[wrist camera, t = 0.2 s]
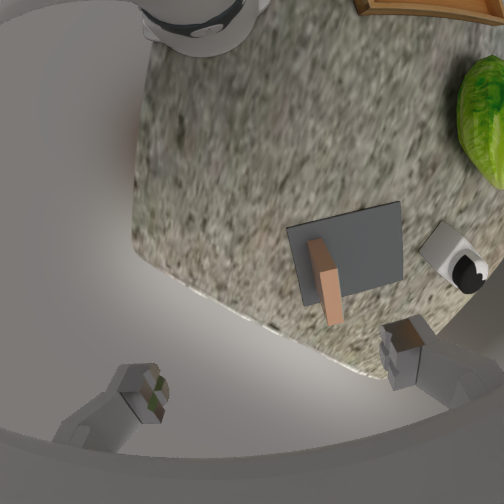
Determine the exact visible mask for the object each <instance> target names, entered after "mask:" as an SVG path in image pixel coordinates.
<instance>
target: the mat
mask: <svg viewBox="0 0 504 504" xmlns="http://www.w3.org/2000/svg"><path fill="white" fill-rule="evenodd" d="M287 232H288V236H289V241H290V245H291V249H292V254H293V258H294V262H295V267H296V271H297V276H298V280H299V285H300V289H301V294H302V299H303V303H304V306H309V305H313V304H317V303H320V300H319V297H318V294H317V291H316V286H315V280H314V275H313V270H312V264H311V259H310V254H309V249H308V244H307V241H311V240H315V239H319V238H322V240H323V241H324V243H325V245H326V247H327V249H328V251H329V253H330V255H331V257H332V259H333V261H334V263H335V265H336V267H337V269H338V275H339V282H340V290H341V297H344V296H347V295H351V294H355V293H359V292H362V291H366V290H369V289H373V288H377V287H380V286H383V285H387V284H390V283H394V282H397V281H401V280H403V242H402V220H401V205H400V201H397V202H392V203H388V204H384V205H380V206H375V207H371V208H367V209H362V210H358V211H354V212H350V213H346V214H341V215H337V216H333V217H329V218H325V219H321V220H316V221H312V222H308V223H304V224H300V225H296V226H292V227H288V228H287Z"/></svg>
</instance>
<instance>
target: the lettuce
mask: <svg viewBox="0 0 504 504" xmlns="http://www.w3.org/2000/svg"><path fill="white" fill-rule="evenodd" d="M457 129H458V138H459V142H460V144H461V146H462V148H463V149H464V151H465V153H466V155H467V156H468V157H469V159H470V160H471V161H472V163H473V164H474V165H475V166H476V167H477V169H478V170H479V171H480V173H481V174H482V175H483V176H484V177H485V178H486V180H487V181H488V182H489V183H490V184H491V185H492V186H493V187H495V188H496V189H498V190H504V60H502V59H500V58H498V57H496V56H494V55H490V56H488V57H486V58H483V59H481V60H478V61H477V62H476V63H475V64H474V65H473V67H472V68H471V69H470V70H469V72H468V73H467V74H466V75H465V77H464V80H463V82H462V85H461V87H460V90H459V92H458V100H457Z"/></svg>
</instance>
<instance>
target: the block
mask: <svg viewBox="0 0 504 504" xmlns="http://www.w3.org/2000/svg"><path fill="white" fill-rule="evenodd" d="M307 244H308V249H309V254H310V259H311V264H312V270H313V275H314V280H315V286H316V291H317V294H318V297H319V300H320V303H321V306H322V309H323V312H324V315H325V318H326V321H327V324H328V326H330V325H334V324H338V323H342V322H344V320H343V318H344V316H343V307H342V298H341V290H340V282H339V275H338V269H337V267H336V265H335V263H334V261H333V259H332V257H331V255H330V253H329V251H328V249H327V247H326V245H325V243H324V241H323V240H322V238H319V239H315V240H311V241H307Z"/></svg>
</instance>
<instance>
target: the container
mask: <svg viewBox="0 0 504 504" xmlns="http://www.w3.org/2000/svg"><path fill="white" fill-rule="evenodd" d="M419 253H420V254H421V255H422V256H423V257H424V258H425V259H426V260H427V261H428V262H429V263H430V264H431V265H432V267H433V268H434V269H435V270H436V271H437V272H438V273H439V274H441V275H442V276H443V277H444V278H445V279H446V280H448V281H449V282H450V283H451V284H452V285H453V286H454V287H456V288H459V289H460V290H461V291H462V292H463V293H464V294H472V293H474V292H476V291H478V290H479V289H480V288H481V287H482V286H483V284H484V283H485V281H486V279H487V276H488V265H487V263H486V262H485V261H484V260H483V259H482V258H481V255H480V254H479V253H478V252H477V251H476V250H475V249H474V247H473V246H472V245H471V244H470V243H469V242H468V241H467V240H466V239H465V237H463V236H462V235H461V234H460V233H458V232H457V231H456V230H455V229H453V228H452V227H451V226H449V225H448V224H447V223H446V222H444V221H441V222H440V224H439V225H438V226H437V228H436V229H435V230H434V232H433V233H432V234H431V236H430V237H429V238H428V240H427V241H426V242H425V244H424V245H423V246H422V248H421V249H420V250H419Z"/></svg>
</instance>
